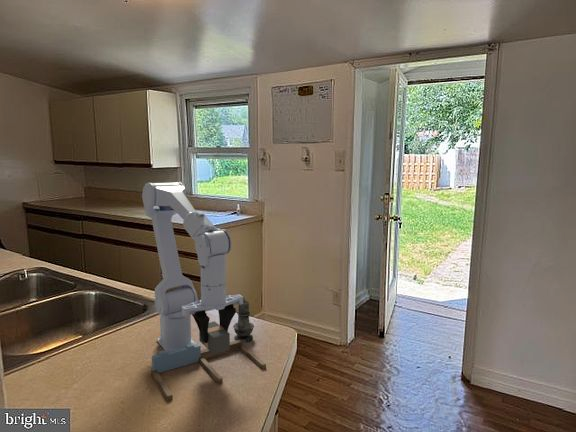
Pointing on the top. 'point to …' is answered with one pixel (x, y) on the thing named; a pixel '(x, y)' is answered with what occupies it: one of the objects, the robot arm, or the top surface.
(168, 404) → the top surface
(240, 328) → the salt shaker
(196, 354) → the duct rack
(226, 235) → the robot arm
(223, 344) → the grey and tan block
